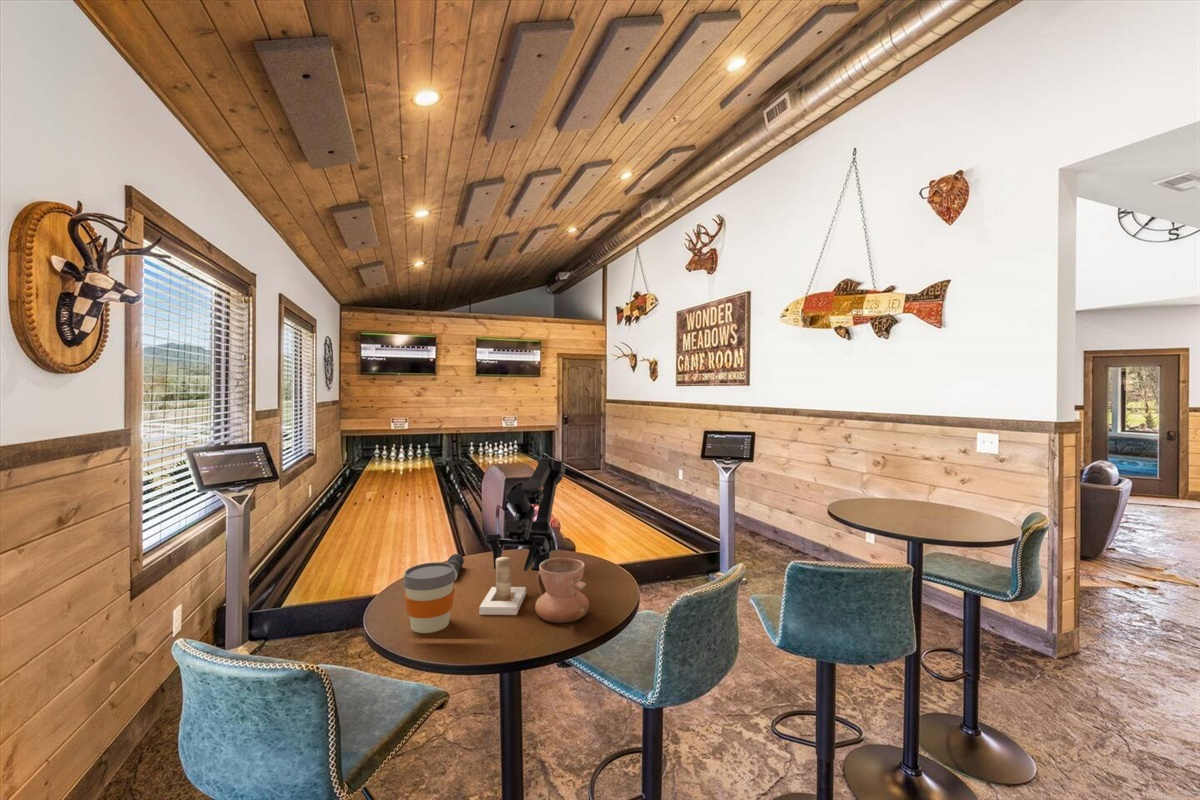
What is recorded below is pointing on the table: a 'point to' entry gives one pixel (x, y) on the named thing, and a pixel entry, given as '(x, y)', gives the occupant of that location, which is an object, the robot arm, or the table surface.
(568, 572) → the ceramic jug
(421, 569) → the reusable coffee cup
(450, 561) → the grey shaker
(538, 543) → the robot arm
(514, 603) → the frame
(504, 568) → the cream ridged cylinder
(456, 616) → the table surface
